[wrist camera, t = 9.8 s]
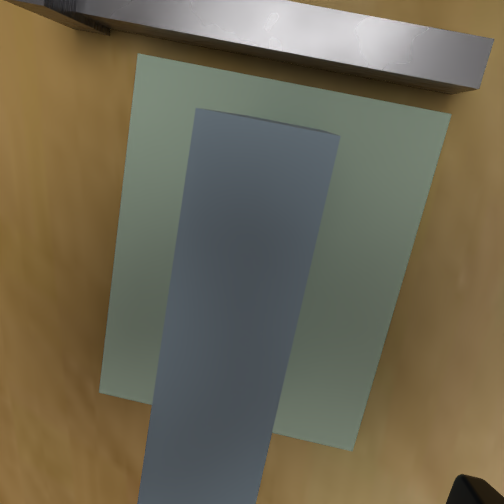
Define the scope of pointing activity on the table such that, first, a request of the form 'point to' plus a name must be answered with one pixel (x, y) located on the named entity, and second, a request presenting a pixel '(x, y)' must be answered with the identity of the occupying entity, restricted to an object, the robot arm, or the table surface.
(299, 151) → the grey panel
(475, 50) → the rack
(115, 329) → the mat
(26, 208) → the table surface
